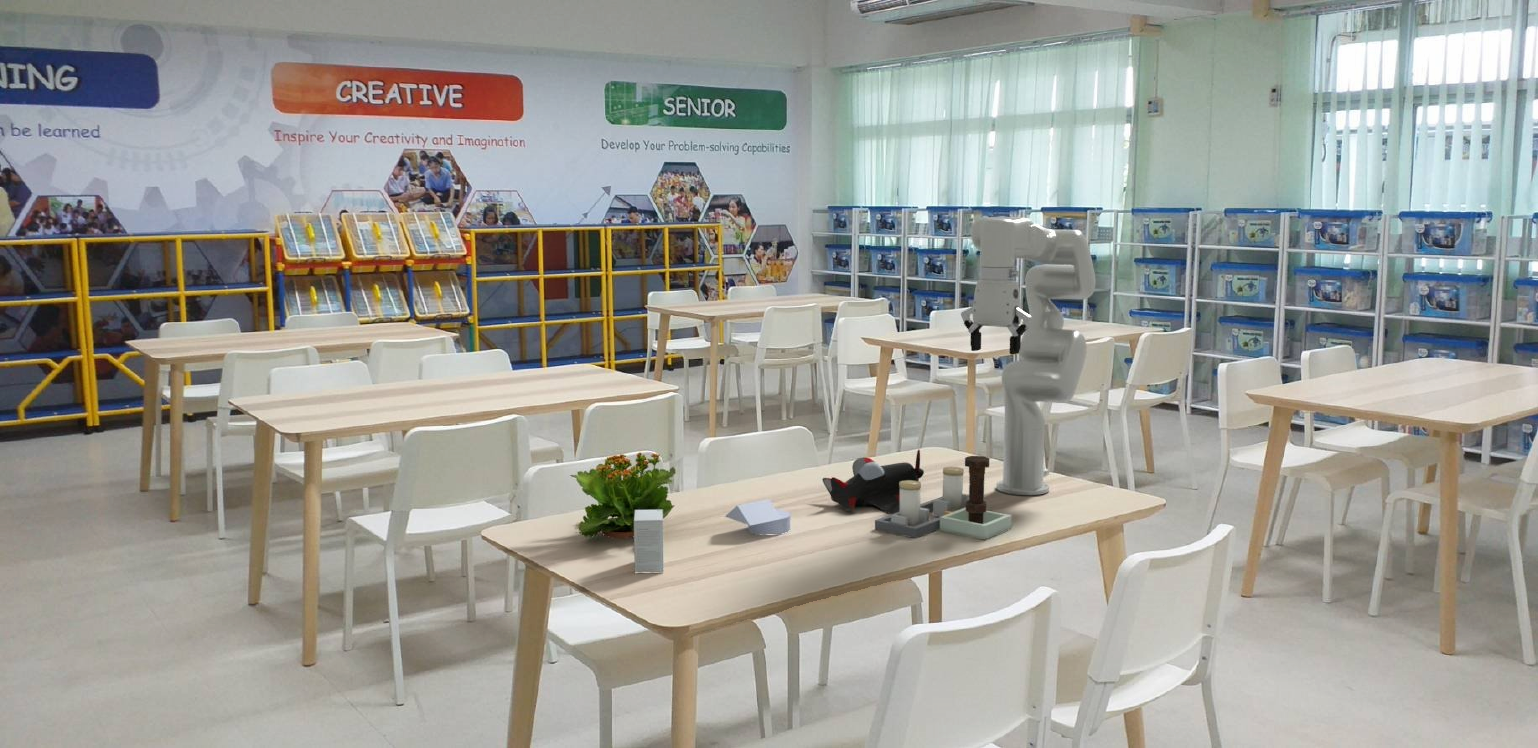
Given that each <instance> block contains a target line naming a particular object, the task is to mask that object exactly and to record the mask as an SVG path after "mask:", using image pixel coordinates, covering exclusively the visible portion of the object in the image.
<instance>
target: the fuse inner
mask: <svg viewBox="0 0 1538 748" xmlns="http://www.w3.org/2000/svg"><path fill="white" fill-rule="evenodd" d="M964 471H965V470H964V468H963V467H958V466H945V467H942V476H943V477H942V496H943V497H942V496H941V497H942V500H945V501H950V502H951V504H950V512H954V511H957V510H960V509H962V494H963V489H964V488H963V487H964V485H963V483H964V473H965V472H964Z"/></svg>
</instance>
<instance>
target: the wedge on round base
mask: <svg viewBox="0 0 1538 748" xmlns="http://www.w3.org/2000/svg"><path fill="white" fill-rule="evenodd" d="M724 517H725V518H727V519H729V520H734V521H736V522H739V523H742V524H745V525H747V526H748V528H747V529H749V530H748V532H750V533H751V532H752V534H754V533H756V534H755V535H759V534H780V535H783V534H782V533H784V534H786V533H785V532H787V533H789V532H790V531H791V513H790V512H789V511H787V510H784V509H777V508H776V507H775V506H774V504H773V503H772V501H771V499H770V498H768V499H764V500H763V499H762V500H757V501H752V502H746V503H743V504H737V505H736V506H735V507H734V508H732V509H731V511H729V512H728V513H727V514H726V515H725V516H724ZM789 530H790V531H789ZM788 531H789V532H788Z"/></svg>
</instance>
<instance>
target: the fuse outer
mask: <svg viewBox="0 0 1538 748" xmlns="http://www.w3.org/2000/svg"><path fill="white" fill-rule="evenodd" d="M899 488H900V505H899V516H904V517H907V526H912V527H914V526H917V525H920V504H921V488H922V483H921V481H919V482H918V481H912V480H906V481H901V482H899Z"/></svg>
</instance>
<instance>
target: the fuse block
mask: <svg viewBox="0 0 1538 748" xmlns="http://www.w3.org/2000/svg"><path fill="white" fill-rule="evenodd" d="M942 497H943V495H942V496H940V497H937V498H934V499H931V500H928V501H925V502H923V503H920V525H917V526H914V527H912V526H907V517H904V516H899V512H897V513H894V514H888V515H886V516H883V517H880V518H876V519H875V520H874V530H875V531H882V532H886V533H890V534H894V535H898V536H899V535H900V536H903V537H908V538H913V539H917V538H920V537H922V536H925V535H927V534H929V533H933V532H935V531H937V530H940V517H941V516H944V515H947V514H949V513H952V512H950V504H951V502H950V501H945V500H942ZM968 500H969V493H968V494H967V493H962V509H963V508H965V507H966V501H968ZM931 512H932V516H935V517H936V518H933V519H930V513H931ZM954 512H955V511H954Z"/></svg>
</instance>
